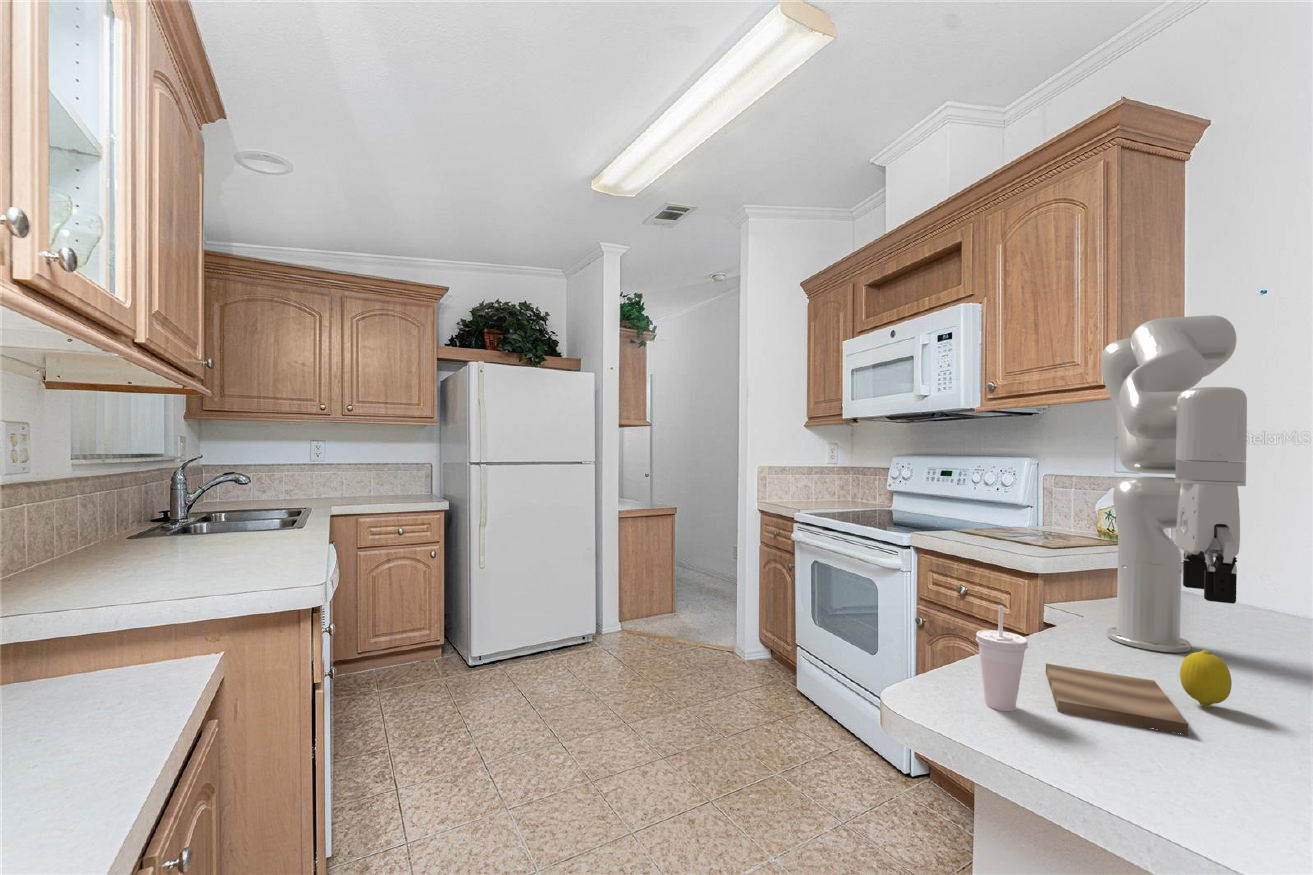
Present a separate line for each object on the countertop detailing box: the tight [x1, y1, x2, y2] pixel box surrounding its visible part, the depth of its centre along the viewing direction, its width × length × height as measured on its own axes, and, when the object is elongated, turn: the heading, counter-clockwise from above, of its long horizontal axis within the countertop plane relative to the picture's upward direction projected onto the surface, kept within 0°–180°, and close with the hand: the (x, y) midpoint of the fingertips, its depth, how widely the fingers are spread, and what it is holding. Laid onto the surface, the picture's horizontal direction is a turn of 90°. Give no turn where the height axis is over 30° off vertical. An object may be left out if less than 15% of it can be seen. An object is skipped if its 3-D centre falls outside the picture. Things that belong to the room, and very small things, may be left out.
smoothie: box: [975, 605, 1029, 712], centre depth 87 cm, size 6×6×14 cm
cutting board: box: [1045, 663, 1189, 736], centre depth 90 cm, size 17×14×2 cm
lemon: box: [1179, 649, 1233, 708], centre depth 88 cm, size 6×6×8 cm
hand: (1207, 594), depth 88 cm, fingers open, 9 cm apart
